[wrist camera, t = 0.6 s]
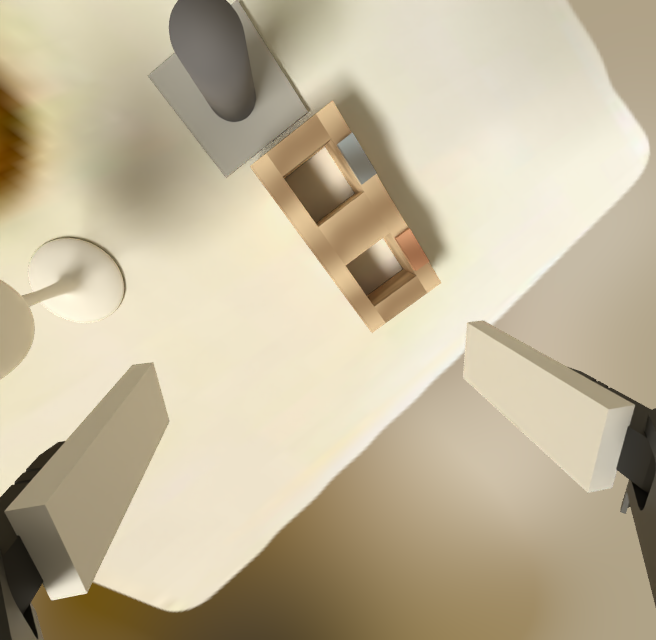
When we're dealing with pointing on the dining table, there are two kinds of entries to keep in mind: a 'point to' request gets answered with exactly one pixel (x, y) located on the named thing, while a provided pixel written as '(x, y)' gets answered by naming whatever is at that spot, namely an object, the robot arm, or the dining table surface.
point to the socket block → (349, 217)
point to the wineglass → (58, 293)
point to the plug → (214, 55)
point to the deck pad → (244, 136)
